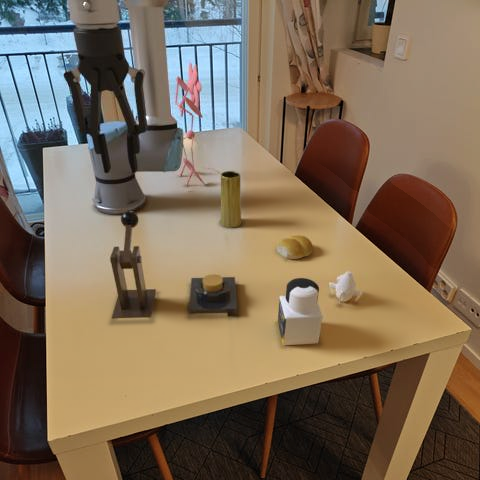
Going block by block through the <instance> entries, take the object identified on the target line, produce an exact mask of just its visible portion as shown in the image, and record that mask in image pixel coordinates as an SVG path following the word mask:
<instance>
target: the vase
mask: <svg viewBox="0 0 480 480" xmlns="http://www.w3.org/2000/svg"><path fill="white" fill-rule="evenodd" d="M220 225H222V227H225V228H230V229H232V228H238V227H239V226H241V225H242V210H241V173H240V172H238V171H236V170H226V171H223V172H220Z"/></svg>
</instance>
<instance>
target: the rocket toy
mask: <svg viewBox="0 0 480 480" xmlns="http://www.w3.org/2000/svg"><path fill="white" fill-rule="evenodd" d="M328 285H329V289H330V294H331V295H332V296H333V295H334V291H333V290H334V288H335V295H336V298H337V299H338V305H341V303H342V302H343V303H345V302H348V301H350V300H351V299H352V298H353V296H354V295H356V298H355V300H354V303H356V302H357V301H358V300H359V299H360V298H361V296H363V291H360V290H357V289H356V280H355V277H354V276H353V273H352V271H351V270H346V271H345V273H344V274H340V275H338V276H337V277H336V283H335V282H331V281H330V282H329V283H328Z"/></svg>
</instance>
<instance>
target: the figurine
mask: <svg viewBox="0 0 480 480" xmlns="http://www.w3.org/2000/svg"><path fill="white" fill-rule="evenodd" d="M198 76H199V73H198V67H197V64H194V66H193V65H192V62H189V63H188V78H189V79H188V80H187V81H186V82H185V81H184V80H183V79H182V78H180V76H176V88H175V98H174V99H175V101H174V105H175V106H178V107H177V108H178V109H179V113H180V117H181V118H183V115H184V112H186V113H187V114H189V115H190V116H191V122H190V123H191V125H190V130H188V131H186V136H185V137H183V140H186V139H188V140H191V143H190V144H191V145H190V150H191V161H190V160H189V159H188V157H187V153H186V149H185V145H184V144H183V152H184V156H185V157H184V158H182V160H183V166H182V169H181V171H180V174H179V177H182V176H183V173H184V170H185V168H188V169H189V170H190V173H189V176H188V177H187V178H188V179H187V181H186V184H185V186H186V187H188V185H189V182H190V180H191V178H192V175H193V174H194V175H195V176H196V178H197V179H198V180H199V181H200V182H201V184H203V185H206V183H205V181H204V180H203V179H202V177H201V176H200V175H199V174H198V172H197V171H196V170H195V165H194V153H193V144H194V138H195V136H196V134H195V132H194V131H193V128H194V127H193V125H194V115H193V113H194V114H196V115H197V116H198V117H200V118H201V119H203V118H204V117H203V115H202V113H201V110H200V93H201V92H202V84H201V81H200V80H199V79H198ZM179 87H180V88H181V89H182V90H183V91H184V92H185V93H184V95H183V96H182V99H181V101H180V103H178V95H179V94H178V93H179ZM188 93H189V95H190V98H189V97H187V95H188ZM185 103H186V105H187V106H188V107H189V108H190V110H191V111H192V112H193V113H192V112H191V111H189V110H187V109H186V108H185ZM201 168H202V169H203V168H204V169H206V167H205V166H204V167H203V166H202V167H201ZM207 169H208V170H212V171H215V172H217V173H219V171H218V170H216V169H215V168H209V167H207ZM191 192H192V193H193V192H194V191H193V190H189V191H187V193H191Z"/></svg>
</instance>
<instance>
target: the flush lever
mask: <svg viewBox="0 0 480 480" xmlns="http://www.w3.org/2000/svg"><path fill="white" fill-rule="evenodd" d="M120 222H121V224H122V226H123V227H125V233H124V243H123V250H120V256H119V264H120V266H121V269H123V270H133V267H132V261H131V255H132V252H133V251H132V250H131V248H132V234H133V229H134V228H136V227H137V226H138V224H139V215H138V214H137V213H136V212H135V211H134V212H132V211H126V212H124V213H123V214H121V216H120Z"/></svg>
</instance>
